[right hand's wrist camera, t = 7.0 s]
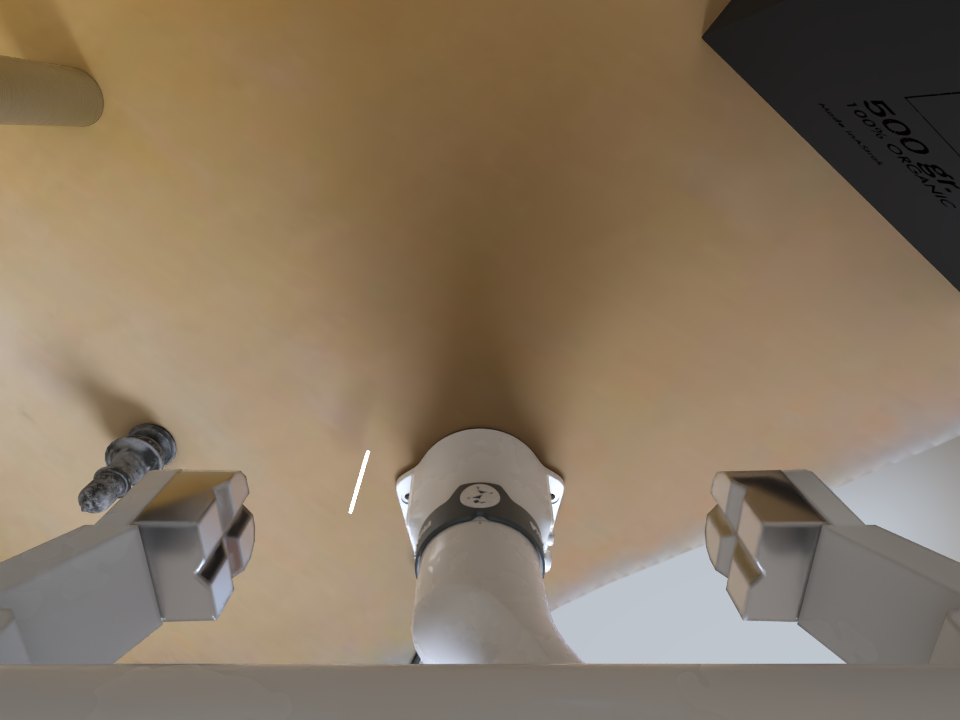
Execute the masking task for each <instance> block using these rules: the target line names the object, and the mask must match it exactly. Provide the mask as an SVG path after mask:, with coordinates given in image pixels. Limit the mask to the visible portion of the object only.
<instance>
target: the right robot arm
mask: <svg viewBox="0 0 960 720" xmlns="http://www.w3.org/2000/svg"><path fill="white" fill-rule="evenodd" d="M369 453H370V451H367V452H366V455H365V458H364V461H363V465H362V468H361V472H360V475H359V479H358V482H357V485H356V489H355V492H354V496H353V499H352V503H351V506H350V510H349V513H352V510H353V507H354V504H355V501H356V497H357V494H358V490H359V487H360V483H361V480H362V477H363V473H364V470H365V466H366V463H367V459H368V456H369ZM396 492H397V495H398V499H399V502H400V506H401V509H402V512H403V516H404V519H405V523H406V527H407V530H408V533H409V536H410V540H411V543H412V547H413V550H414V554H415V573H416V578H417V585H416V592H415V599H414V606H413V613H412V621H411V633H412V639H413V643H414V646H415V649H416V651H417V655H416V657H415V659H414V661H413V663H412V664H113V663H114V662H116V661H117V660H118V659H119V658H121V657H122V656H123V655H125V654H126V653H127V652H128V651H130V650H131V649H132V648H133V647H135V646H136V645H137V644H139V643H140V642H141V641H142V640H144V639H145V638H146V637H147V636H149V635H150V634H151V633H152V632H154V631H155V630H156V629H158V628H159V627H160V626H161V625H162V622H174V621H209V620H217V619H218V617H219V616H220V614H221V612H222V610H223V608H224V607H225V605H226V603H227V601H228V599H229V598H230V596H231V594H232V592H233V590H234V587H233V581H232V578H233V577H235V576H236V575H238V574H239V573H241V572H242V571H244V570H245V568H246V566H247V564H248V562H249V560H250V558H251V555H252V550H253V546H254V542H255V525H254V518H253V514H252V513H251V512H250V511H249V510H248V509H247V508H246V507H245V506H244V505H243V502H244V501H245V499H246V497H247V496H248V494H249V489H248V484H247V479H246V476H245V475H244V474H243V473H242V472H241V471H224V470H181V469H168V470H152V471H148V472H147V473H146V474H145V475H144V476H143V477H142V478H141V479H140V480H139V481H138V482H137V483H136V484H135V485H134V486H133V487H132V488H131V489H130V490H129V491H128V492H127V493H126V494H125V495H124V496H123V497H122V498H121V499H120V500H119V501H118V502H117V503H116V504H115V505H114V506H113V507H112V508H111V509H110V510H109V511H108V512H107V513H106V514H105V515H104V516H103V517H102V518H101V519H100V520H99V521H98V522H97V523H96V524H95V525H84V526H81V527H79V528H77V529H75V530H72V531H70V532H68V533H66V534H63V535H61V536H59V537H57V538H54V539H52V540H50V541H48V542H45V543H43V544H41V545H39V546H37V547H34V548H32V549H30V550H28V551H25V552H23V553H21V554H19V555H16V556H14V557H12V558H10V559H7V560H5V561H3V562H1V563H0V720H960V563H959V562H957V561H955V560H952V559H950V558H948V557H946V556H943V555H941V554H939V553H937V552H935V551H932V550H930V549H928V548H926V547H923V546H921V545H919V544H917V543H914V542H912V541H910V540H908V539H905V538H903V537H901V536H899V535H896V534H894V533H892V532H890V531H888V530H885V529H883V528H881V527H879V526H876V525H865V524H864V523H863V522H862V521H861V520H860V519H859V518H858V517H857V516H856V515H855V514H854V513H853V512H852V511H851V510H850V509H849V508H848V507H847V506H846V505H845V504H844V503H843V502H842V501H841V500H840V499H839V498H838V497H837V496H836V495H835V494H834V493H833V492H832V491H831V490H830V489H829V488H828V487H827V486H826V485H825V484H824V483H823V482H822V481H821V480H820V479H819V478H818V477H817V476H816V475H815V474H814V473H813V472H811V471H809V470H806V469H793V470H765V471H725V472H717V473H716V475H715V477H714V479H713V482H712V488H711V494H712V496H713V497H714V499H715V501H716V502H717V505H716V506H715V507H714V508H713V509H712V510H711V511H710V512H709V513H708V514H707V518H706V526H705V539H706V548H707V551H708V555H709V558H710V560H711V562H712V564H713V566H714V568H715V570H716V571H718V572H719V573H721V574H722V575H724V576H725V577H727V578H728V581H727V587H726V590H727V592H728V594H729V596H730V597H731V599H732V601H733V603H734V605H735V607H736V608H737V610H738V612H739V614H740V616H741V617H742V619H743V620H750V621H786V622H798V623H797V624H798V625H799V626H800V627H801V628H803V629H804V630H805V631H806V632H808V633H809V634H810V635H812V636H813V637H814V638H815V639H817V640H818V641H819V642H820V643H822V644H823V645H824V646H826V647H827V648H828V649H829V650H831V651H832V652H833V653H834V654H836V655H837V656H838V657H839V658H841V659H842V660H843V661H845V662H846V663H847V664H586V663H585V662H584V661H583V660H581V659H580V658H579V656H578V655H577V654H576V653H575V652H574V651H573V650H572V649H571V648H570V646H569V645H568V644H567V643H566V641H565V640H564V639H563V637H562V636H561V634H560V633H559V632H558V630H557V628H556V626H555V624H554V622H553V620H552V617H551V613H550V609H549V606H548V602H547V598H546V593H545V588H544V583H543V578H544V573H545V572H549V570H550V567H551V551H549V550H547V547H548V546H552V545H553V542H554V533H552V530H553V527H554V523H555V519H556V516H557V513H558V509H559V506H560V502H561V499H562V495H563V492H564V481H563V479H562V478H561V477H560V476H559V475H557V474H556V473H554V472H553V471H551V470H549V469H547V468H546V467H544V466H543V465H542V464H541V463H540V461H539V460H538V459H537V457H536V456H535V454H534V453H533V452H532V451H531V450H530V448H529V447H527V446H526V445H525V444H524V443H523V442H521V441H520V440H518V439H517V438H515V437H513V436H511V435H509V434H507V433H504V432H501V431H497V430H492V429H469V430H463V431H459V432H456V433H454V434H451V435H449V436H447V437H445V438H443V439H442V440H440V441H439V442H437V443H436V444H435V445H434V446H433V447H431V449H430V450H429V451H428V452H427V453H426V454H425V456H424V457H423V459H422V460H421V461H420V463H419V464H418V465H417V466H416V467H414V468H413V469H411V470H409V471H407V472H406V473H404V474H403V475H401V476H400V477H399V478H398V479H397V482H396ZM408 493H409V496H407V495H406V494H408ZM551 493H552V494H554V495H553V496H551ZM420 660H422V662H423V664H419V662H420Z"/></svg>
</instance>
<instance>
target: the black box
mask: <svg viewBox="0 0 960 720" xmlns="http://www.w3.org/2000/svg"><path fill="white" fill-rule="evenodd" d="M702 38H703V39H704V40H705V41H706V42H707V43H708V44H709V45H710V46H711V47H712V48H713V49H714V50H715V51H716V52H717V53H718V54H719V55H720V56H721V57H722V58H723V59H724V60H725V61H726V62H727V63H728V64H729V65H730V66H731V67H732V68H733V69H734V70H735V71H736V72H737V73H738V74H739V75H740V76H741V77H742V78H743V79H744V80H745V81H746V82H747V83H748V84H749V85H750V86H751V87H752V88H753V89H754V90H755V91H756V92H757V93H758V94H759V95H760V96H761V97H762V98H764V99H765V100H766V101H767V102H768V103H769V104H770V105H771V106H772V107H773V108H774V109H775V110H776V111H777V112H778V113H779V114H780V115H781V116H782V117H783V118H784V119H785V120H786V121H787V122H788V123H789V124H790V125H791V126H792V127H793V128H794V129H795V130H796V131H797V132H798V133H799V134H800V135H801V136H802V137H803V138H804V139H805V140H806V141H807V142H808V143H809V144H810V145H811V146H812V147H813V148H814V149H815V150H816V151H817V152H818V153H819V154H820V155H821V156H822V157H823V158H824V159H825V160H826V161H828V162H829V163H830V164H831V165H832V166H833V167H834V168H835V169H836V170H837V171H838V172H839V173H840V174H841V175H842V176H843V177H844V178H845V179H846V180H847V181H848V182H849V183H850V184H851V185H852V186H853V187H854V188H855V189H856V190H857V191H858V192H859V193H860V194H861V195H862V196H863V197H864V198H865V199H866V200H867V201H868V202H869V203H870V204H871V205H872V206H873V207H874V208H875V209H876V210H877V211H878V212H879V213H880V214H881V215H882V216H883V217H884V218H885V219H886V220H887V221H888V222H889V223H890V224H892V225H893V226H894V227H895V228H896V229H897V230H898V231H899V232H900V233H901V234H902V235H903V236H904V237H905V238H906V239H907V240H908V241H909V242H910V243H911V244H912V245H913V246H914V247H915V248H916V249H917V250H918V251H919V252H920V253H921V254H922V255H923V256H924V257H925V258H926V259H927V260H928V261H929V262H930V263H931V264H932V265H933V266H934V267H935V268H936V269H937V270H938V271H939V272H940V273H941V274H942V275H943V276H944V277H945V278H946V279H947V280H948V281H949V282H950V283H951V284H952V285H953V286H954V287H956V288H957V289H958V290H959V291H960V0H731V2H730V3H729V4H728V5H727V6H726V8H725V9H724V10H723V11H722V13H721V14H720V15H719V16H718V18H717V19H716V20H715V21H714V23H713V24H712V25H711V26H710V28H709V29H708V30H707V31H706V32H705V34H704V35H703V36H702ZM951 93H952V94H951ZM938 94H940V95H939V96H936V95H938ZM919 112H920V113H921V115H922V116H921V115H920V114H919ZM883 114H884V117H883ZM886 119H890V121H891V123H889V121H886V124H887V126H885V125H884V123H883V122H884V121H885V120H886ZM892 122H893V123H892ZM888 123H889V124H888ZM889 128H890V129H889ZM891 130H893V131H892V132H891ZM894 131H896V132H895V133H896V134H894ZM897 131H901V132H897ZM905 132H906V134H905V136H903V135H901V134H903V133H905ZM897 134H898V135H897ZM902 138H904V139H903V141H904V140H905V139H906V138H908V139H909V141H910V142H908V140H906V141H905V142H904V143H902V142H903V141H902V142H901V139H902ZM913 140H914V142H913ZM905 145H906V146H905ZM907 147H908V148H907ZM923 149H924V150H923ZM912 150H913V152H912ZM914 150H916V151H917V150H918V152H917V153H915V151H914ZM921 150H923V151H922V152H921V153H922V154H918V153H919V152H920V151H921ZM924 164H926V165H925V166H924ZM932 164H933V165H934V166H933V168H931V167H929V168H927V166H928V165H930V166H931V165H932ZM929 170H931V171H929Z"/></svg>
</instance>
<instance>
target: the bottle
mask: <svg viewBox="0 0 960 720" xmlns="http://www.w3.org/2000/svg"><path fill="white" fill-rule="evenodd" d="M102 111H103V96H102V93H101V90H100V88H99V86H98V85H97V83H96V82H95V81H94V79H93V78H92V77H91V76H89V75H88V74H87V73H86V72H84V71H82V70H80V69H77V68H73V67H67V66H61V65H55V64H50V63H44V62H38V61H32V60H26V59H20V58H14V57H8V56H2V55H0V124H1V125H42V126H89V125H91V124H93V123H95V122H96V121H97V120H98V119H99V118H100V116H101V114H102Z"/></svg>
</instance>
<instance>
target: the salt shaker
mask: <svg viewBox="0 0 960 720" xmlns="http://www.w3.org/2000/svg"><path fill="white" fill-rule="evenodd" d="M175 454H176V445H175V442H174V440H173V438H172V436H171V435H170V434H169V433H168V432H167V431H165V430H164V429H163V428H161V427H158V426H156V425H151V424H142V425H139V426H136V427H135V428H133V429H132V430H131V431H130V432H129V434H128V436H127V437H123V438H119V439H117V440H115V441H113V442H112V443H111V444H110V445H109V446H108V447H107V450H106V453H105V461H106V465H107V467H103V468H101V469H99V470H98V471H97V472H96V473H95V475H94V480H93V481H91V482H90V483H89V484H88V485H87V486H86V487H85V488H84V489H82V491H81V492H80V494H79V496H78V502H79V505H80V506H81V510H82V512H89V513H100V512H103V511H104V510H106V509H107V508H108V507H109V506H110V505H111V504H112V503H113V502H114V501H115V500H116V499H117V498H122V497H123V496H124V495H125V494H126V493H127V492H128V491H129V490H130V489H131V486H134V485H135V484H136V483H137V482H138V481H139V480H140V479H141V478H142V477H143V476H144V475H145V474H146V473H147V472H148V471H152V470H163V466H165V465H167V464H168V463H170V462H171V461H172V460H173V458H174V457H175Z"/></svg>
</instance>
